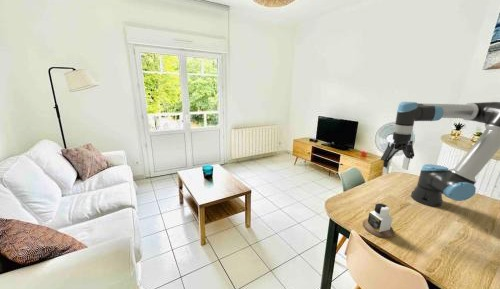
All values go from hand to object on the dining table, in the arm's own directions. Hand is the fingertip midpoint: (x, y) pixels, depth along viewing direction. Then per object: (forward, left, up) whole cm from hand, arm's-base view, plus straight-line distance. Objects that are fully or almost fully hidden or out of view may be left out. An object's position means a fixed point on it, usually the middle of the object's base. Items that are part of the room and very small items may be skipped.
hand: (395, 170), depth 112 cm
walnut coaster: (+14, +16, -25) cm, 33 cm away
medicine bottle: (+14, +16, -24) cm, 32 cm away
